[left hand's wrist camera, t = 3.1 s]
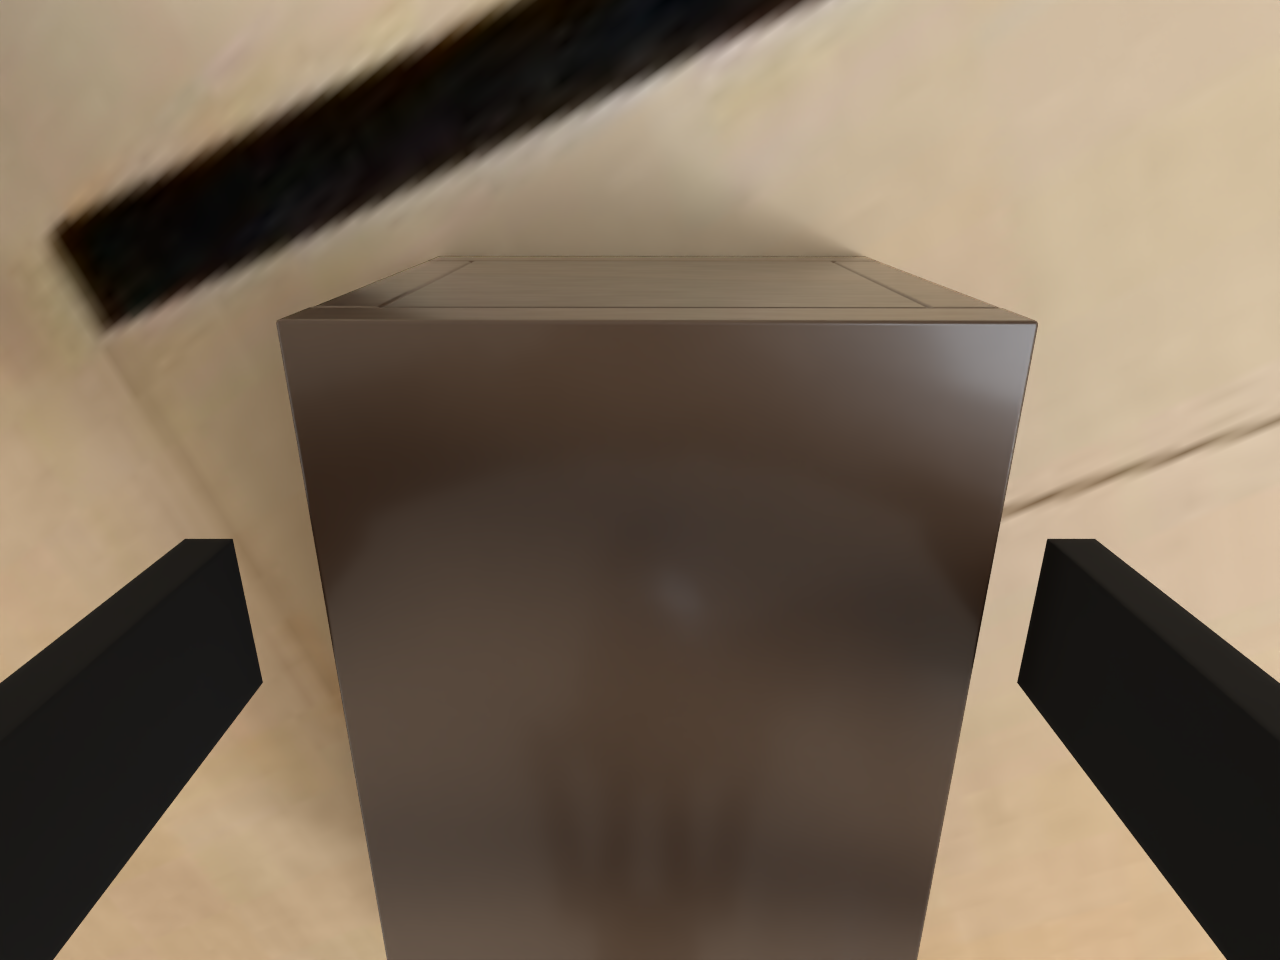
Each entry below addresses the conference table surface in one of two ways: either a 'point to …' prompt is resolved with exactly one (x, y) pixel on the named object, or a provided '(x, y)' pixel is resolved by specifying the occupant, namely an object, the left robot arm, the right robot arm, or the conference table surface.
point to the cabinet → (654, 593)
